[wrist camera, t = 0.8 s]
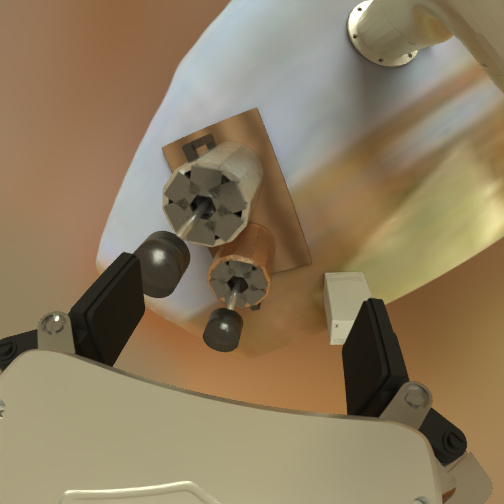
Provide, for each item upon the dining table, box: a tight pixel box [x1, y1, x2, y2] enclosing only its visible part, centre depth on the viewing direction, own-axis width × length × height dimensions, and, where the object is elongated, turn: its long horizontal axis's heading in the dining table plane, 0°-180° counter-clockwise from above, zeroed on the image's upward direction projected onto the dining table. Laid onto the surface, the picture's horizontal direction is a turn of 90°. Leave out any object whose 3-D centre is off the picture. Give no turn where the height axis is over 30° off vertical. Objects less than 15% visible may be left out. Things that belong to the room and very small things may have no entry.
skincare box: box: [323, 272, 372, 345], centre depth 52 cm, size 8×6×15 cm
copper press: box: [208, 222, 276, 310], centre depth 51 cm, size 10×12×13 cm
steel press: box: [163, 133, 264, 247], centre depth 42 cm, size 11×13×17 cm
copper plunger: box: [203, 261, 256, 352], centre depth 41 cm, size 6×6×15 cm
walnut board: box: [162, 108, 312, 273], centre depth 52 cm, size 18×30×1 cm, turn 21°
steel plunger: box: [133, 175, 236, 298], centre depth 30 cm, size 8×8×19 cm
